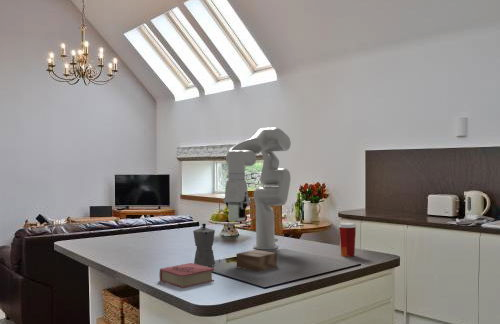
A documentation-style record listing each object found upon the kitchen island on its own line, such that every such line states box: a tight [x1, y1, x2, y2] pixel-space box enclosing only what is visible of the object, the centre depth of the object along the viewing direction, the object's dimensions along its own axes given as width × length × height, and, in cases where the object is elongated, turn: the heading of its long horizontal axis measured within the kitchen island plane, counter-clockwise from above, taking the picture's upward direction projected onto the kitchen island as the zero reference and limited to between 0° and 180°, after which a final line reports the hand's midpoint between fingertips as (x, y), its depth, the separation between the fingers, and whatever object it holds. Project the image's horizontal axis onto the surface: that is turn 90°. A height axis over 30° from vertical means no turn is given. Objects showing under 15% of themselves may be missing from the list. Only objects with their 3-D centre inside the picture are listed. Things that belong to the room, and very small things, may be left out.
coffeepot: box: [193, 223, 216, 267], centre depth 202 cm, size 15×9×18 cm, turn 13°
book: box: [158, 262, 215, 289], centre depth 174 cm, size 14×15×5 cm
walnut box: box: [236, 249, 278, 272], centre depth 197 cm, size 12×12×6 cm
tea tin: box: [227, 203, 246, 222], centre depth 211 cm, size 5×5×8 cm
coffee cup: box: [337, 222, 357, 258], centre depth 219 cm, size 8×8×15 cm
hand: (236, 217), depth 211 cm, fingers closed on tea tin, 5 cm apart
